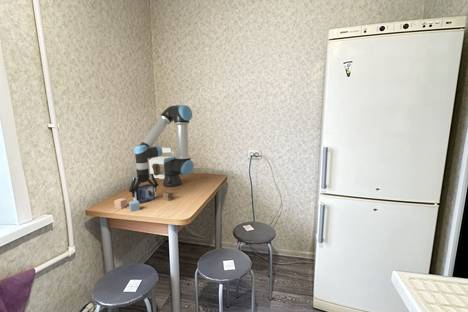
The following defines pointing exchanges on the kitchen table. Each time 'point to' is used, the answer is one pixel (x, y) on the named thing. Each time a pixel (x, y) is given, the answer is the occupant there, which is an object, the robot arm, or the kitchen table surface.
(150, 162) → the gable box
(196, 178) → the kitchen table surface
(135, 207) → the slate block
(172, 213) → the kitchen table surface
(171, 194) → the walnut block
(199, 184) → the kitchen table surface
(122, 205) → the terracotta block
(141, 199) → the small box
